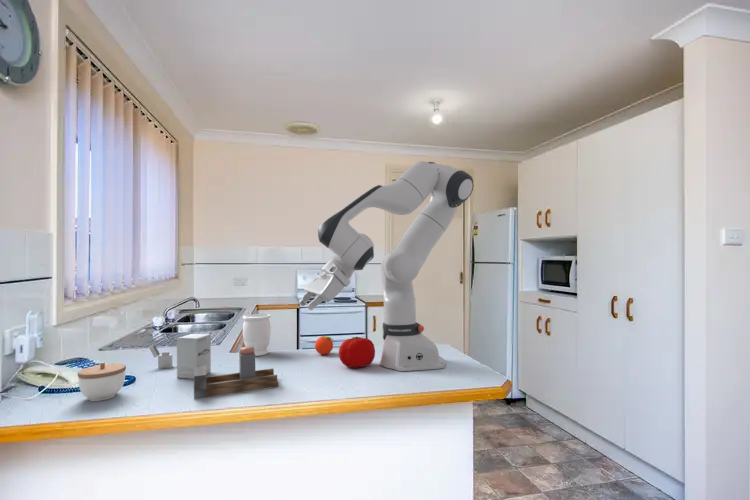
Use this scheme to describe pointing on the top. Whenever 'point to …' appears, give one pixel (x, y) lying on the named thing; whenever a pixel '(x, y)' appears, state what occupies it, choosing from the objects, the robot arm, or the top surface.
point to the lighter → (162, 357)
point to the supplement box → (193, 354)
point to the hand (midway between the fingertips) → (304, 306)
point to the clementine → (324, 345)
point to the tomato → (357, 352)
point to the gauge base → (230, 382)
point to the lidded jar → (101, 381)
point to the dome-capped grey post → (247, 362)
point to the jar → (257, 332)
